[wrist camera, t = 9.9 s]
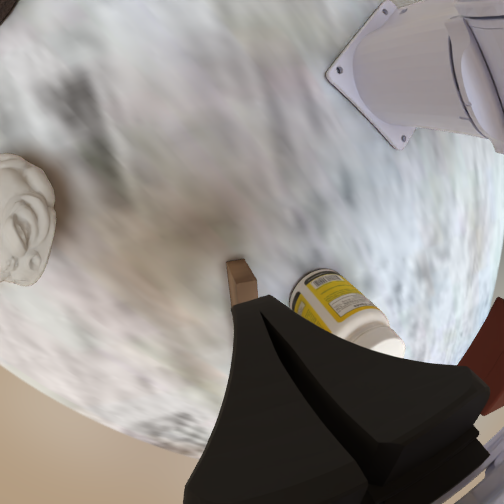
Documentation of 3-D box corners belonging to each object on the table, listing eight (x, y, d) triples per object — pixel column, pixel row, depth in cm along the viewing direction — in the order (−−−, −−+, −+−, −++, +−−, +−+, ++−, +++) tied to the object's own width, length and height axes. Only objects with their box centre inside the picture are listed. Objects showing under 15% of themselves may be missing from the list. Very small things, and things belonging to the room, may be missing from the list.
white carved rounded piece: (42, 268, 17) (2, 330, 10) (-22, 195, 14) (-84, 230, 7) (99, 205, 16) (65, 249, 10) (30, 124, 13) (-34, 128, 7)
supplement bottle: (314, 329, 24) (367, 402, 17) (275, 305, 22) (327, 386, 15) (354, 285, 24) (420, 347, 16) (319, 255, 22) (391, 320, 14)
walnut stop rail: (244, 258, 20) (256, 279, 18) (255, 383, 25) (265, 408, 22) (226, 262, 20) (236, 283, 17) (242, 386, 25) (251, 411, 22)
